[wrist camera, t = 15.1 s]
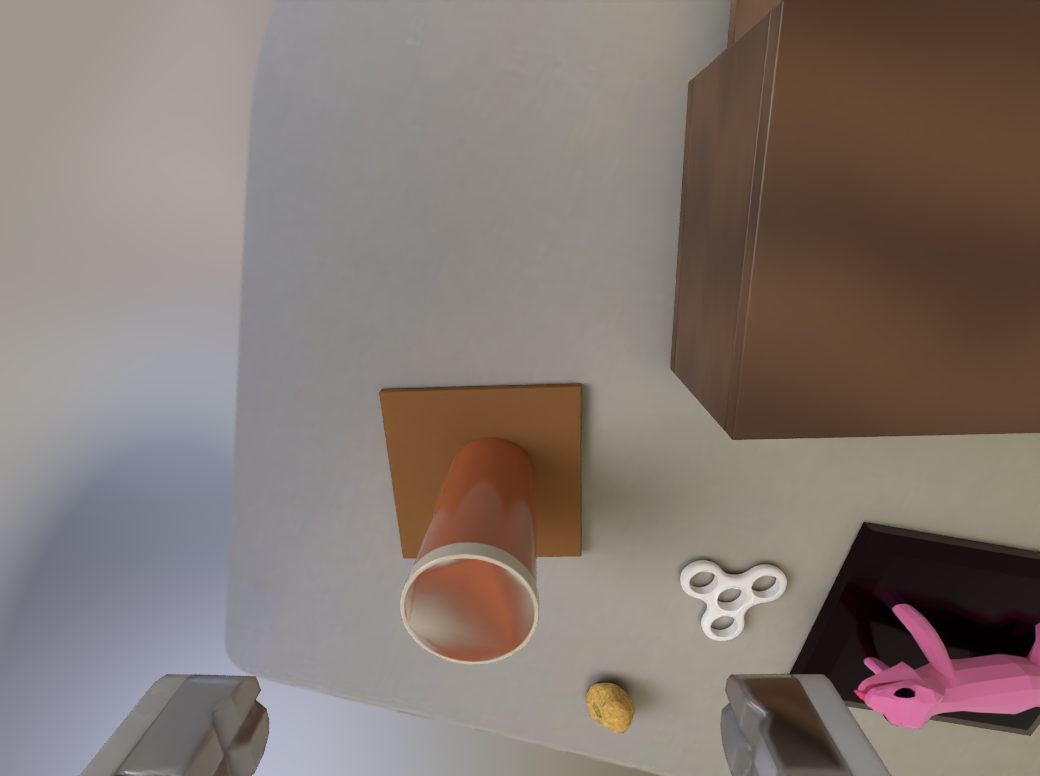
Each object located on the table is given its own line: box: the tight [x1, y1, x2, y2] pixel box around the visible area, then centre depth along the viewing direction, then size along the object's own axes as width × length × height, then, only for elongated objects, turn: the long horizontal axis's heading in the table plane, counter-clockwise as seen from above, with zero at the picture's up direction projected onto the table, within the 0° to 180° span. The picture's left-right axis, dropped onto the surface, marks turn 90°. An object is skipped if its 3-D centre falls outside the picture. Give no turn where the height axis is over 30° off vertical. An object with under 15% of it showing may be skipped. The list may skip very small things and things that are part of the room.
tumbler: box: [400, 438, 539, 664], centre depth 25 cm, size 6×6×11 cm
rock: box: [586, 683, 635, 733], centre depth 36 cm, size 4×4×3 cm
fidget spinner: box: [680, 560, 787, 641], centre depth 33 cm, size 7×6×1 cm
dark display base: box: [790, 522, 1040, 736], centre depth 31 cm, size 15×20×7 cm
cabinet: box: [670, 0, 1040, 440], centre depth 21 cm, size 15×14×10 cm
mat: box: [379, 383, 581, 558], centre depth 31 cm, size 12×12×1 cm
